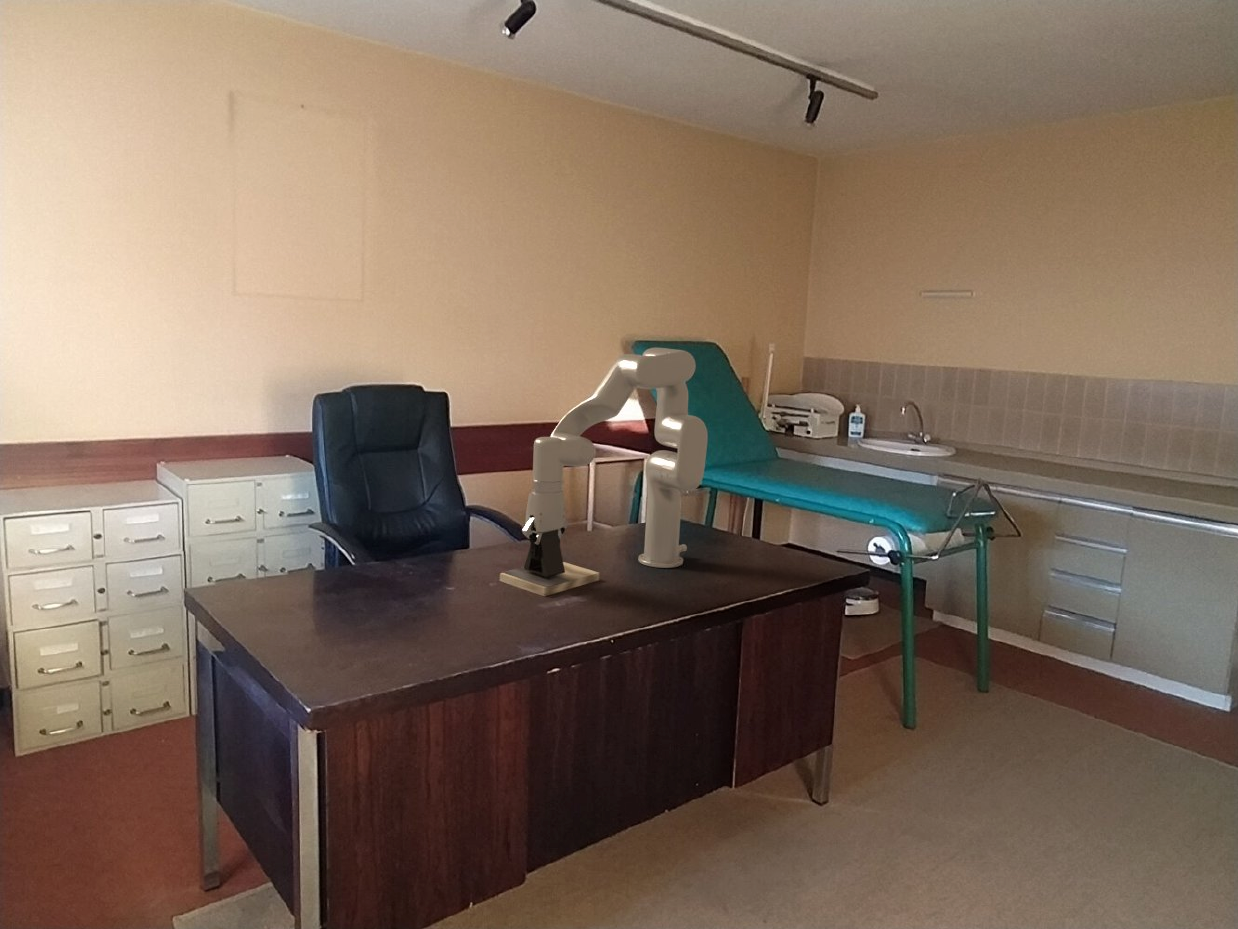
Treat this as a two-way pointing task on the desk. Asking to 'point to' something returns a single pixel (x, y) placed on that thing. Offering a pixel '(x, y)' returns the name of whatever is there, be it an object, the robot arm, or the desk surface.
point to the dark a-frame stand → (547, 556)
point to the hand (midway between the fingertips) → (544, 555)
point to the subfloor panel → (549, 579)
